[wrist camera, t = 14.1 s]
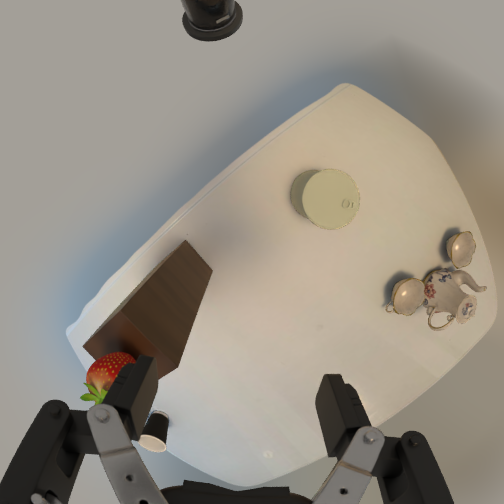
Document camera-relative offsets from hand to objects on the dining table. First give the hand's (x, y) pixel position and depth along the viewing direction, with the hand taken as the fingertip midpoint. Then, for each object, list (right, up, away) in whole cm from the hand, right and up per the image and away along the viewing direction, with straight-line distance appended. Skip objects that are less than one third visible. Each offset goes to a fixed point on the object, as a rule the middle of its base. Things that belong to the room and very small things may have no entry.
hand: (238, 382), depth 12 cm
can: (+12, +17, +39) cm, 44 cm away
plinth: (-13, +3, +42) cm, 44 cm away
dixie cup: (-25, -40, +54) cm, 72 cm away
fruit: (-12, -5, +13) cm, 19 cm away
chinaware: (+43, 0, +44) cm, 61 cm away
